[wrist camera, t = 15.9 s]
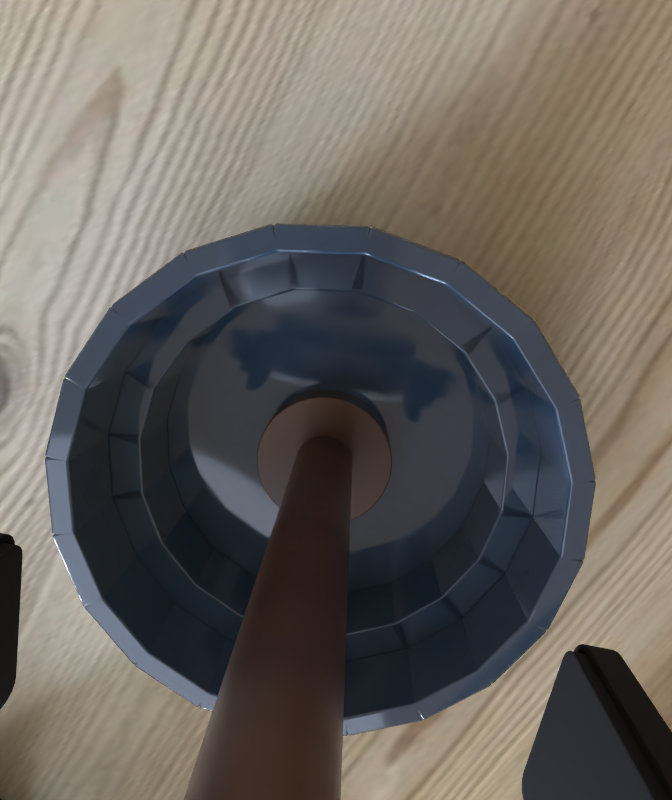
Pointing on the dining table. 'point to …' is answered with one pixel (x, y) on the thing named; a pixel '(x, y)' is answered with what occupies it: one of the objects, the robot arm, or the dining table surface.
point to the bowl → (256, 513)
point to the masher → (296, 609)
